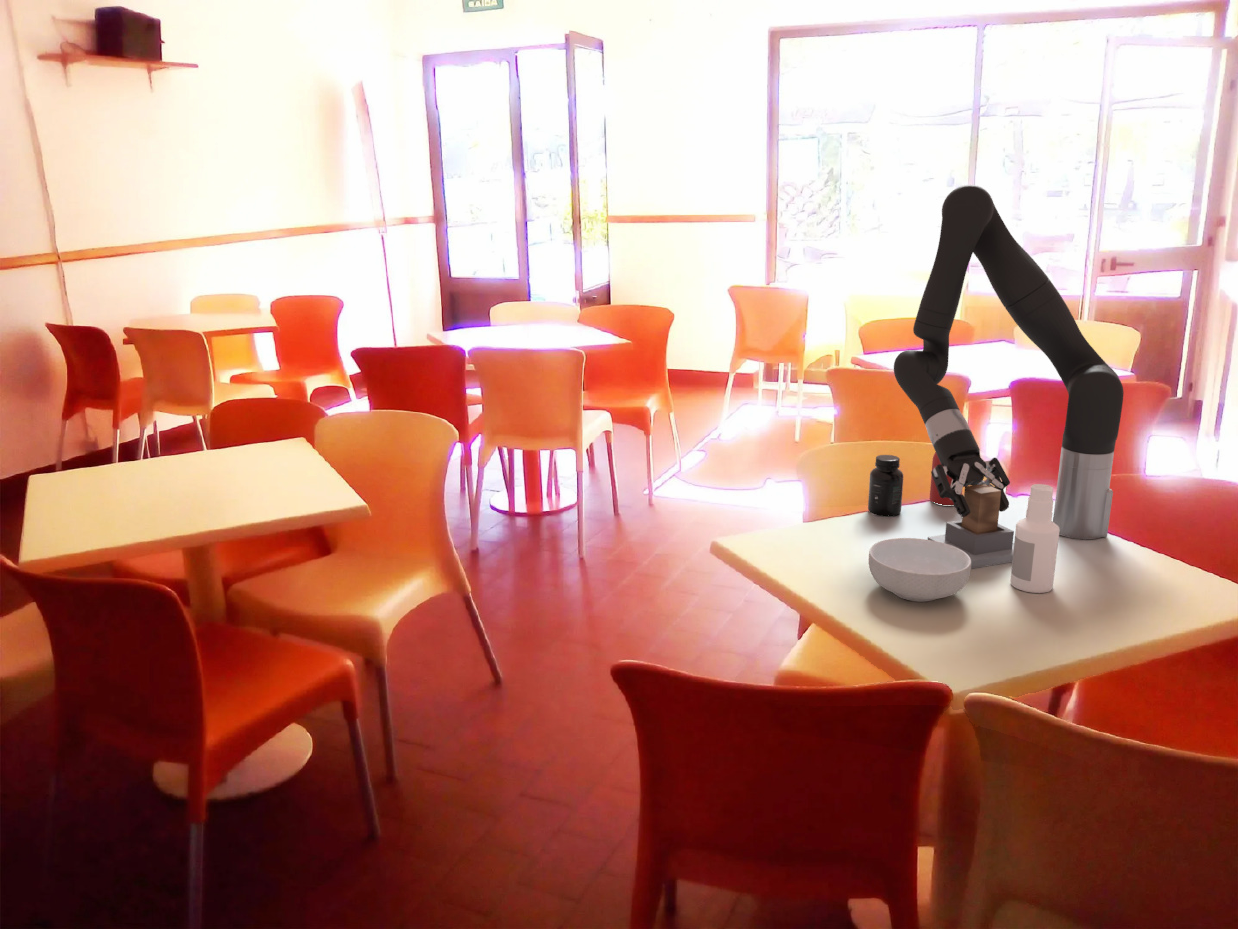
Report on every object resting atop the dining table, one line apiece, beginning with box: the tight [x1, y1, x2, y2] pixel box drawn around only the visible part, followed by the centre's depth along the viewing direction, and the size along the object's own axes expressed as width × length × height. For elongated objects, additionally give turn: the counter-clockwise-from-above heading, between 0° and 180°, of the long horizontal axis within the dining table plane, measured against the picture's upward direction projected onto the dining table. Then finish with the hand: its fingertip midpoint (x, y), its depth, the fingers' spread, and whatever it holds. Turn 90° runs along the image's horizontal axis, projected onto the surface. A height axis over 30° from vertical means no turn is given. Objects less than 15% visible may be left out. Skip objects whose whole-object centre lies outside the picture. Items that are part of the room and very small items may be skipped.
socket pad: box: [927, 519, 1015, 570], centre depth 181 cm, size 13×13×5 cm
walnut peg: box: [961, 484, 1001, 535], centre depth 180 cm, size 4×4×11 cm
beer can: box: [929, 451, 963, 505], centre depth 208 cm, size 7×7×12 cm
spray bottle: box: [1009, 483, 1060, 594], centre depth 164 cm, size 7×7×18 cm
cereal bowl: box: [868, 537, 972, 603], centre depth 164 cm, size 17×17×7 cm
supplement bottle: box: [867, 454, 904, 517], centre depth 203 cm, size 7×7×12 cm
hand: (985, 512), depth 178 cm, fingers open, 8 cm apart
